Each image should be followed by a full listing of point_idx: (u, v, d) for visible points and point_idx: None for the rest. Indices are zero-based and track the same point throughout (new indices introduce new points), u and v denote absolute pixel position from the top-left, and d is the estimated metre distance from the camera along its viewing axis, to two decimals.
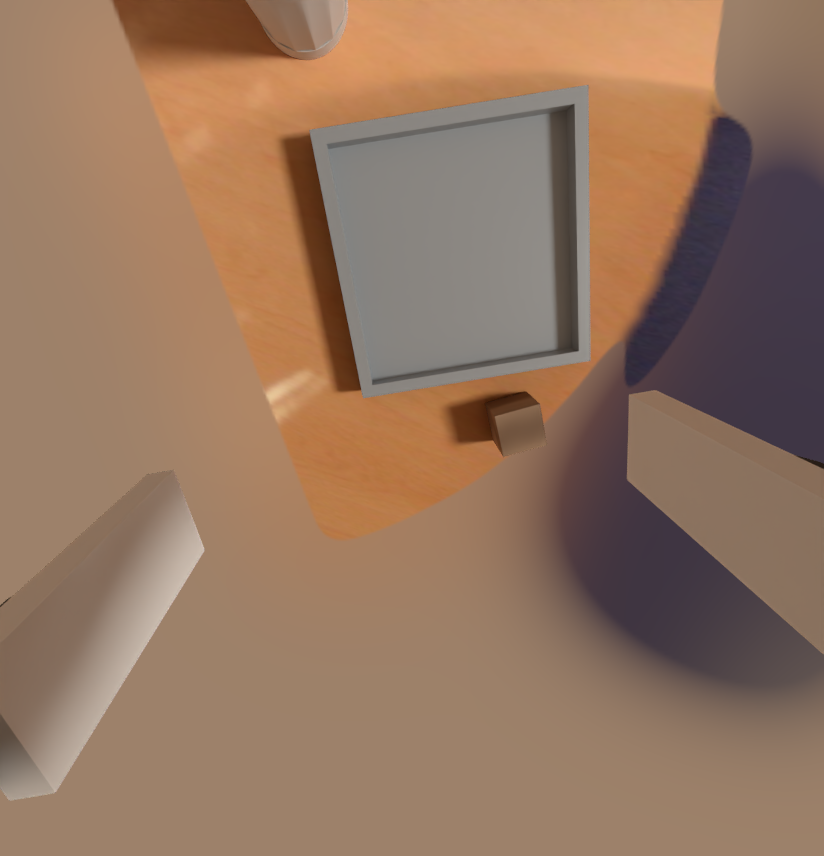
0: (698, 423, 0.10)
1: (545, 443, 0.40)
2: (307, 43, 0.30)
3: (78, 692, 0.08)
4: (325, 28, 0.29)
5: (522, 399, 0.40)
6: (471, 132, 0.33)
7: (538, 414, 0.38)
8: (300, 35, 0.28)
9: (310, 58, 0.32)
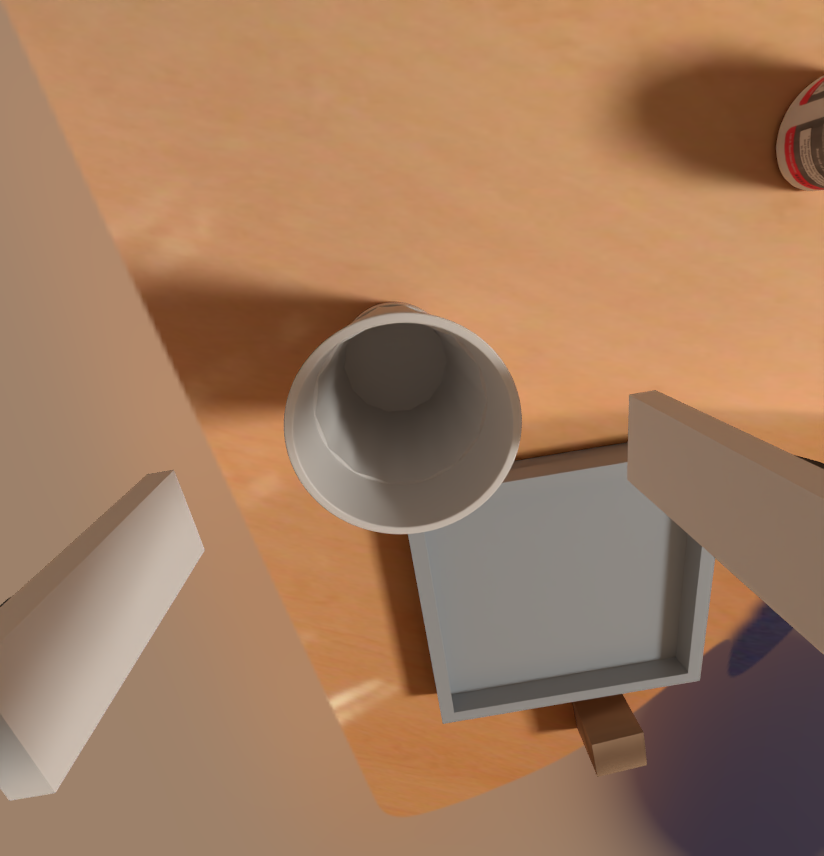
0: (698, 423, 0.10)
1: (645, 763, 0.35)
2: None
3: (78, 692, 0.08)
4: None
5: (618, 709, 0.36)
6: None
7: (640, 741, 0.34)
8: None
9: None
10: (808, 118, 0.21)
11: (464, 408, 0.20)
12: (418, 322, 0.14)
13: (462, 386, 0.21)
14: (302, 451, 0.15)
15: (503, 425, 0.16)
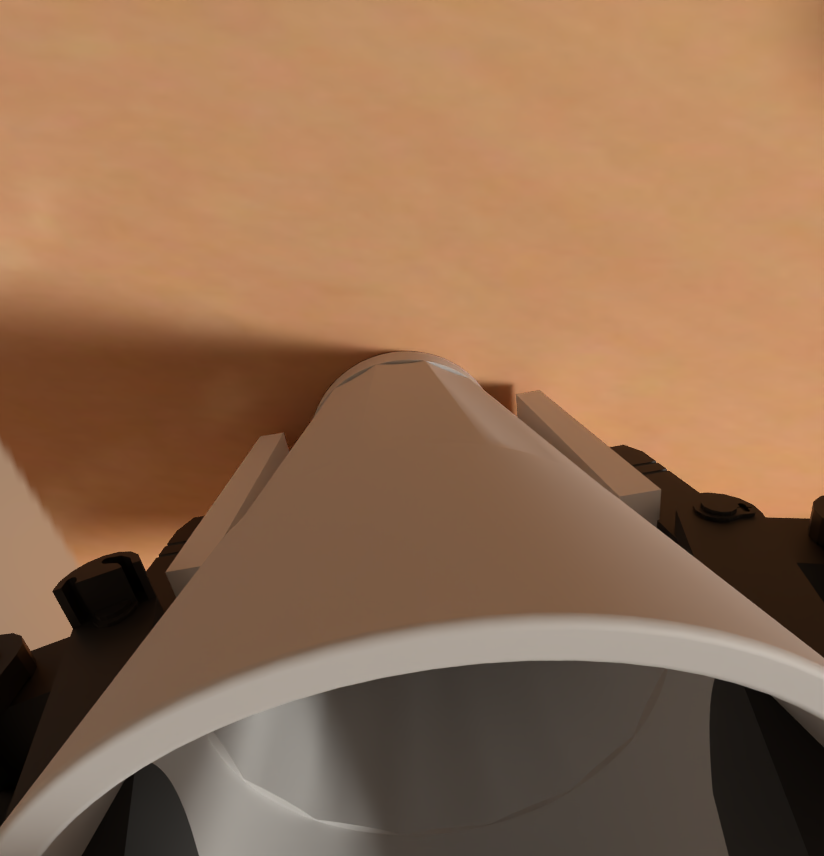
0: (553, 418, 0.12)
1: None
2: None
3: None
4: None
5: None
6: None
7: None
8: None
9: None
10: None
11: None
12: (585, 656, 0.03)
13: None
14: None
15: None
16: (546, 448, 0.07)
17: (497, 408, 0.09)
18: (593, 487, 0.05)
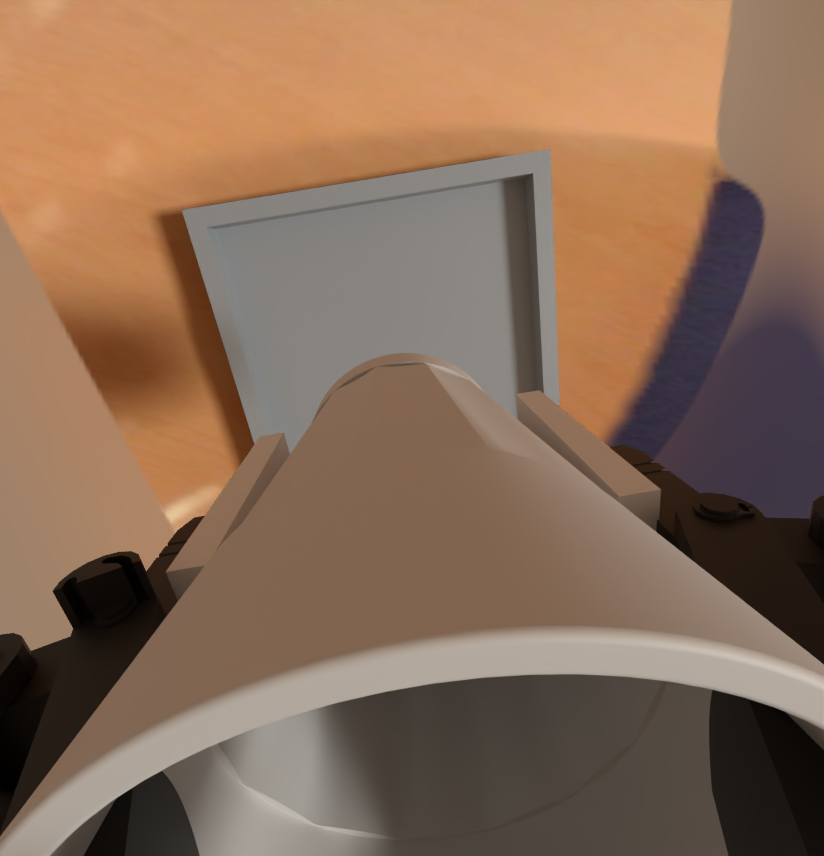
0: (553, 419, 0.12)
1: None
2: None
3: None
4: None
5: None
6: (401, 206, 0.26)
7: None
8: None
9: None
10: None
11: None
12: (589, 670, 0.02)
13: None
14: None
15: None
16: (547, 452, 0.07)
17: (498, 411, 0.09)
18: (595, 493, 0.05)
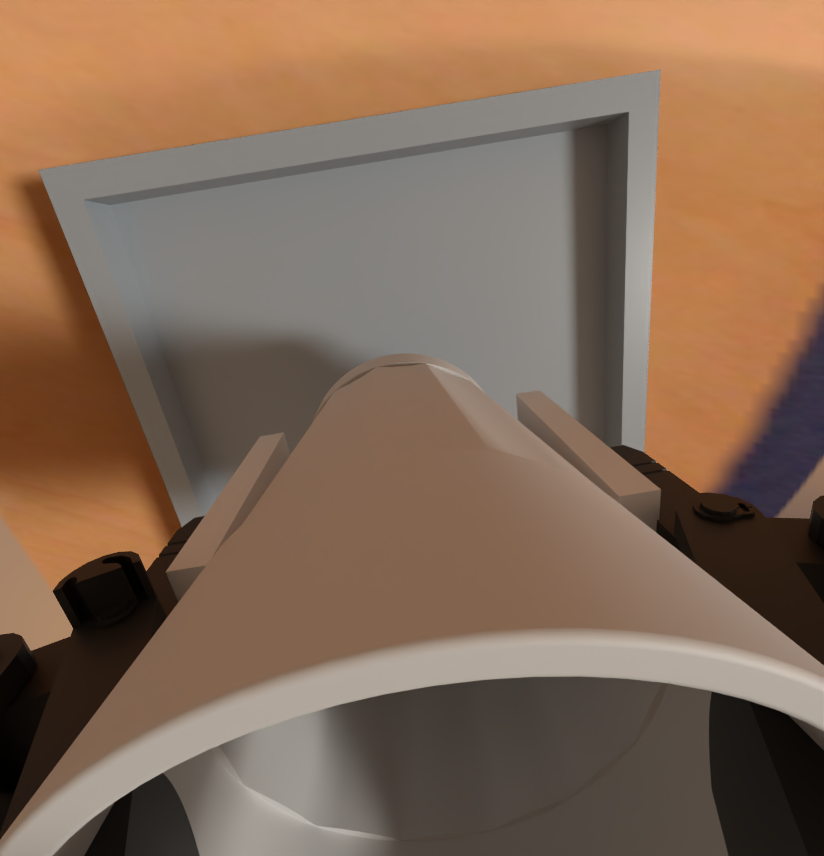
0: (553, 419, 0.12)
1: None
2: None
3: None
4: None
5: None
6: (409, 170, 0.16)
7: None
8: None
9: None
10: None
11: None
12: (589, 671, 0.02)
13: None
14: None
15: None
16: (547, 453, 0.07)
17: (498, 411, 0.09)
18: (595, 493, 0.05)
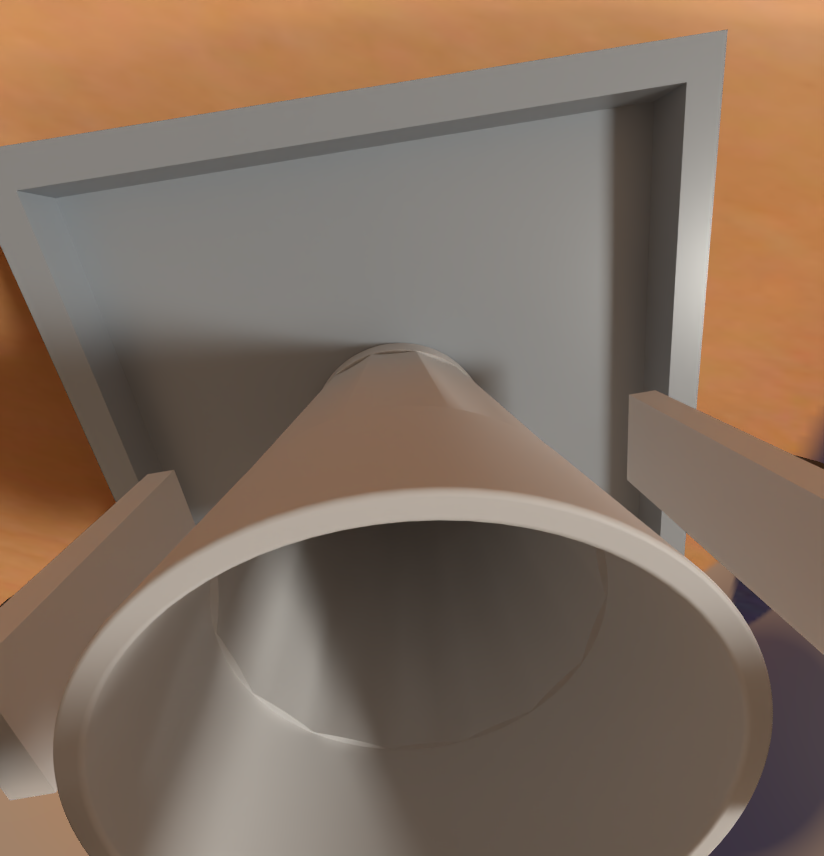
0: (698, 423, 0.10)
1: None
2: None
3: None
4: None
5: None
6: (416, 156, 0.13)
7: None
8: None
9: None
10: None
11: (534, 562, 0.11)
12: (476, 518, 0.04)
13: None
14: (142, 812, 0.06)
15: (683, 718, 0.06)
16: (506, 417, 0.08)
17: (473, 388, 0.10)
18: (530, 439, 0.06)
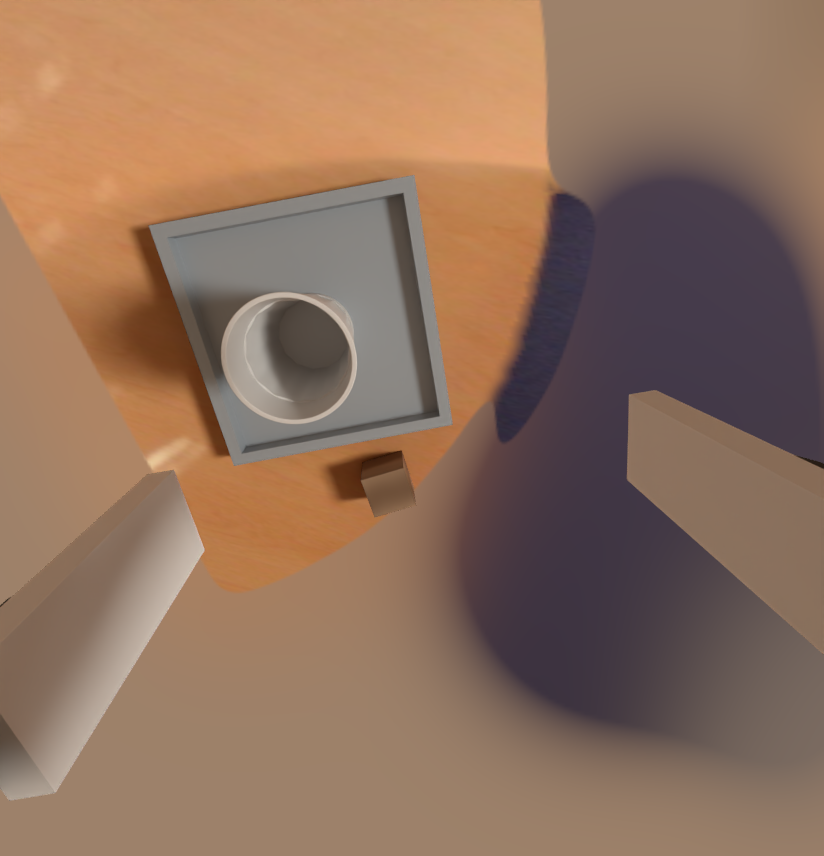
0: (698, 423, 0.10)
1: (414, 503, 0.41)
2: None
3: (78, 692, 0.08)
4: None
5: (393, 461, 0.41)
6: (312, 218, 0.35)
7: (403, 477, 0.40)
8: None
9: None
10: None
11: None
12: (289, 297, 0.25)
13: None
14: (233, 375, 0.27)
15: None
16: (324, 301, 0.30)
17: (325, 300, 0.32)
18: (317, 298, 0.28)
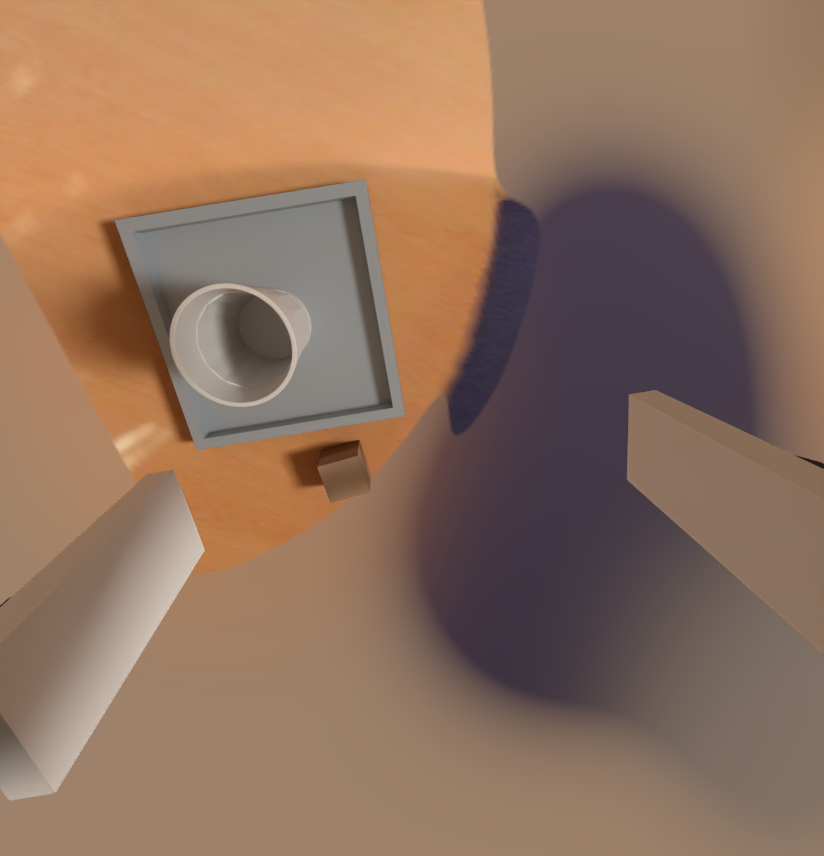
0: (698, 423, 0.10)
1: (368, 490, 0.43)
2: None
3: (78, 692, 0.08)
4: None
5: (349, 449, 0.44)
6: (271, 217, 0.37)
7: (357, 465, 0.42)
8: None
9: None
10: None
11: None
12: (232, 288, 0.27)
13: None
14: (182, 359, 0.29)
15: None
16: (272, 294, 0.32)
17: (277, 293, 0.34)
18: (263, 291, 0.30)
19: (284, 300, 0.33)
